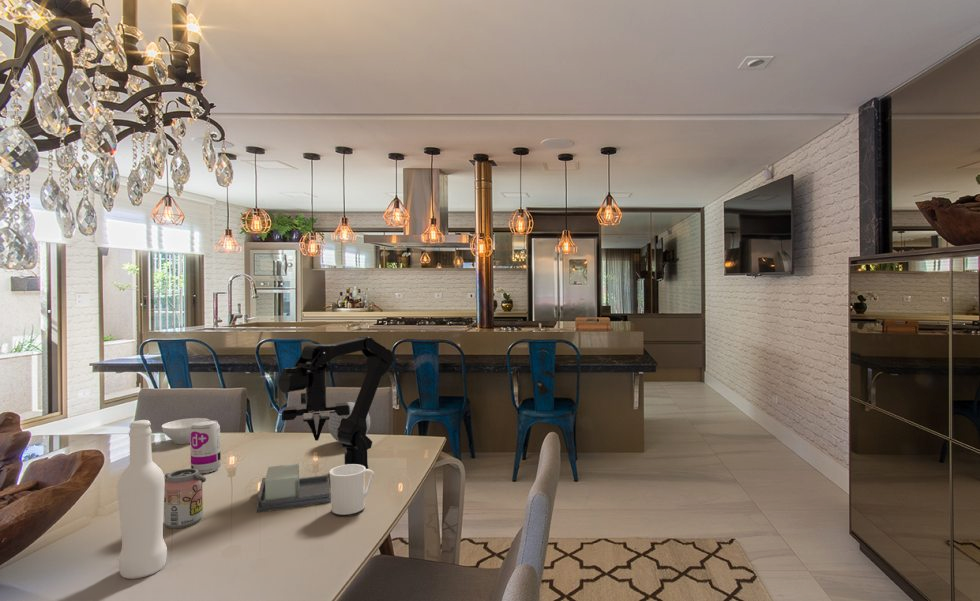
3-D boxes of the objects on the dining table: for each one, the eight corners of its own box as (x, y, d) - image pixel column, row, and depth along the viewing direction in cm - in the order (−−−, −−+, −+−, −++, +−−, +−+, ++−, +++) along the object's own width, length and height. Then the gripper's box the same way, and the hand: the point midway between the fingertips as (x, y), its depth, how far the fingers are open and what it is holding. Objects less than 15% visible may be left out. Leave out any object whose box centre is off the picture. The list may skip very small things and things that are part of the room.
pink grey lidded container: (180, 512, 133) (179, 465, 132) (213, 512, 132) (212, 465, 132) (155, 529, 123) (154, 478, 123) (190, 529, 123) (189, 478, 123)
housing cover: (299, 483, 149) (298, 463, 149) (298, 498, 137) (298, 477, 137) (268, 487, 146) (268, 466, 146) (265, 503, 135) (265, 481, 135)
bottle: (134, 560, 109) (130, 416, 108) (175, 558, 110) (171, 415, 109) (109, 581, 101) (105, 426, 100) (153, 579, 101) (149, 425, 101)
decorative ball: (320, 444, 192) (319, 403, 192) (355, 435, 204) (354, 396, 203) (344, 451, 182) (343, 408, 182) (379, 442, 194) (378, 401, 194)
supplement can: (208, 475, 160) (207, 426, 160) (184, 474, 162) (183, 425, 162) (226, 466, 168) (225, 420, 168) (204, 465, 170) (203, 419, 170)
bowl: (195, 447, 190) (195, 428, 190) (151, 447, 191) (151, 428, 190) (218, 435, 206) (218, 417, 206) (178, 435, 207) (178, 418, 206)
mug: (329, 519, 127) (329, 477, 127) (330, 505, 136) (329, 466, 136) (375, 513, 130) (375, 472, 130) (373, 500, 139) (372, 461, 139)
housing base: (328, 481, 153) (328, 464, 153) (330, 502, 138) (330, 482, 138) (261, 490, 147) (261, 471, 147) (256, 512, 132) (256, 492, 132)
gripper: (346, 381, 164) (347, 430, 165) (282, 385, 158) (283, 436, 159) (349, 386, 154) (350, 439, 154) (281, 391, 148) (282, 446, 148)
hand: (316, 440), depth 154 cm, fingers closed
